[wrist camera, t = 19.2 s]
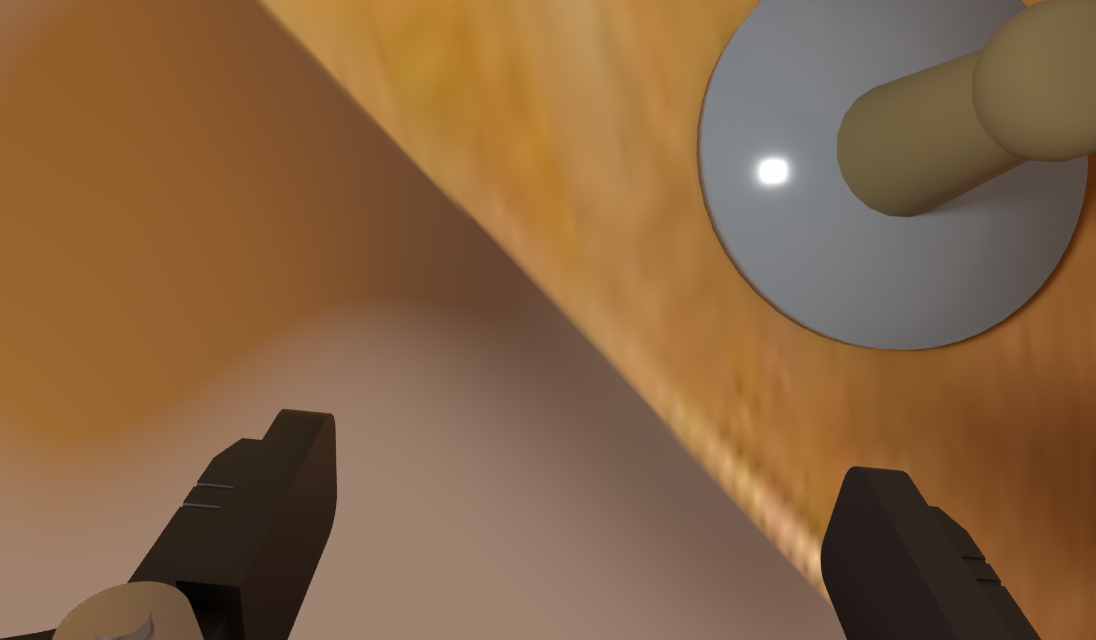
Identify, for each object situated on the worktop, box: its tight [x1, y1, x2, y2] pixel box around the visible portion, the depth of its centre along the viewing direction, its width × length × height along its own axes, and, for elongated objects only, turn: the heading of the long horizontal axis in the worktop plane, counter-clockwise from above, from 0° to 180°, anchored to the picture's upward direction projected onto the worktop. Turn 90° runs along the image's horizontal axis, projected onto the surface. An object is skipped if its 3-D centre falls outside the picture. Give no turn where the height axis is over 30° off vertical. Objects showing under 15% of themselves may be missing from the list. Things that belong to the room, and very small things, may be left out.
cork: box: [837, 0, 1096, 217], centre depth 29 cm, size 6×6×11 cm
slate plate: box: [697, 0, 1088, 350], centre depth 35 cm, size 18×18×1 cm
